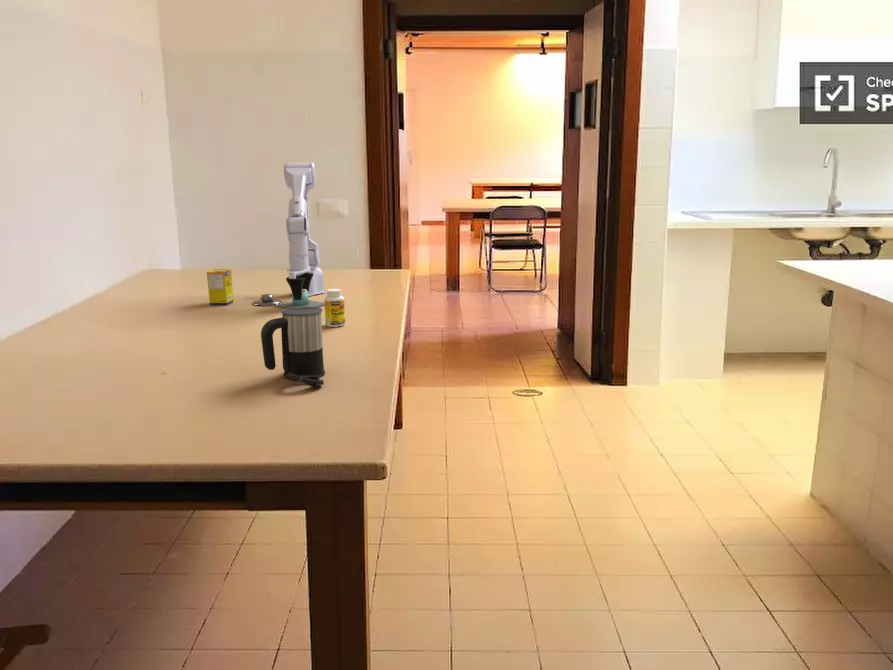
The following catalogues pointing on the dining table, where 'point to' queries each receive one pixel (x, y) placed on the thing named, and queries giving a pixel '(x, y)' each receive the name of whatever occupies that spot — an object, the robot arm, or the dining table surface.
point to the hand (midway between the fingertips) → (301, 297)
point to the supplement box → (220, 286)
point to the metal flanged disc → (267, 300)
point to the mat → (311, 304)
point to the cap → (302, 299)
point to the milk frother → (297, 344)
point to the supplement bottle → (334, 308)
